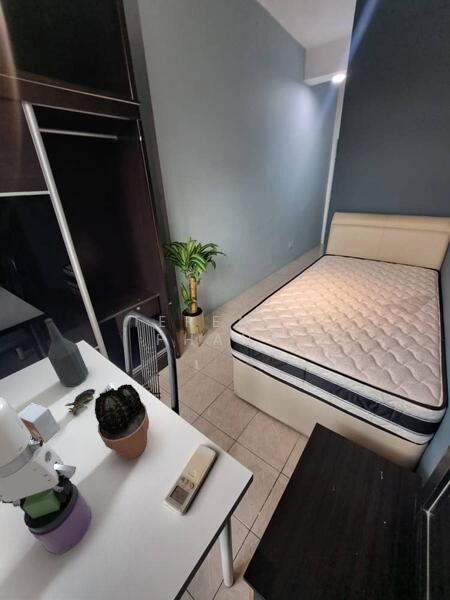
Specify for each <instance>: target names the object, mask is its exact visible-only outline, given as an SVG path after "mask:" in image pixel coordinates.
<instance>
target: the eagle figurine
mask: <svg viewBox="0 0 450 600" xmlns="http://www.w3.org/2000/svg"><path fill="white" fill-rule="evenodd" d="M95 394H96V389H94V388H89V389H85V390H83V391H82V392H80V393H78V395H76V396H75V398H74V400H73V402H68V403H66V404H64V406H65V407H68V412H69V413H73V416H75V415H76V414H77V412H78V408H86V409H89V406H88V405H87V404H85V403H84V402H86V401H88V400H92V399H94V395H95ZM71 406H72V407H71Z"/></svg>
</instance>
